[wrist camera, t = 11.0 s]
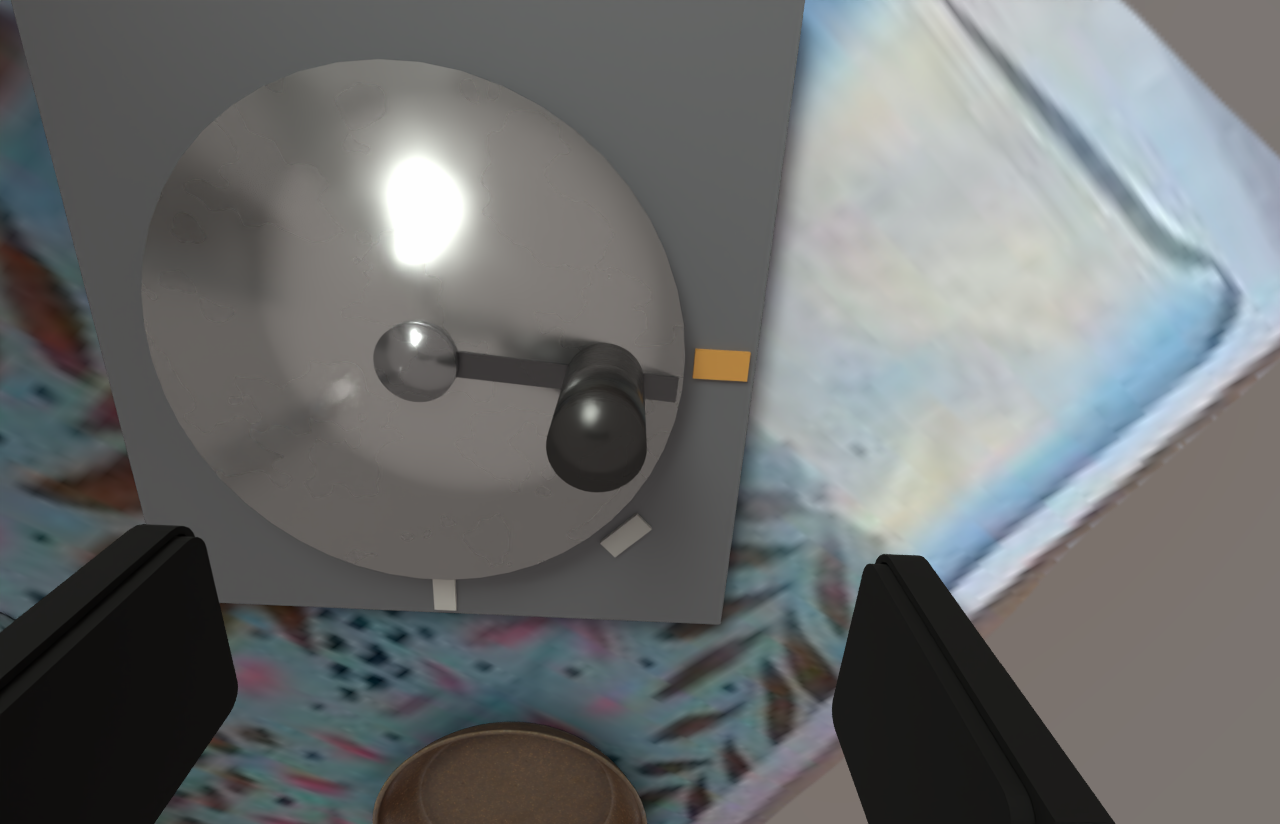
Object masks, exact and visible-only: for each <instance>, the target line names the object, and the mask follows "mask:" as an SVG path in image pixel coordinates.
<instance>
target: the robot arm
mask: <svg viewBox="0 0 1280 824" xmlns="http://www.w3.org/2000/svg"><path fill="white" fill-rule="evenodd" d="M237 692H238V683H237V678H236V673H235V669H234V665H233V660H232V656H231V652H230V647H229V643H228V639H227V634H226V630H225V626H224V621H223V617H222V613H221V608H220V604H219V600H218V595H217V591H216V587H215V582H214V578H213V574H212V569H211V565H210V561H209V556H208V552H207V547H206V545H205V542H204V541H203V540H202V539H201V538H199V537H195V535H194V533H193V531H192V530H191V529H190V528H188V527H185V526H175V525H150V524H142V525H137V526H135V527H133V528H131V529H130V530H129V531H127V532H126V533H125V534H124V535H122V536H121V537H120V538H118V539H117V540H116V541H115V542H113V543H112V544H111V545H110V546H108V547H107V548H106V549H105V550H103V551H102V552H101V553H100V554H98V555H97V556H96V557H95V558H93V559H92V560H91V561H89V562H88V563H87V564H86V565H84V566H83V567H82V568H81V569H79V570H78V571H77V572H76V573H74V574H73V575H72V576H71V577H69V578H68V579H67V580H66V581H64V582H63V583H62V584H60V585H59V586H58V587H57V588H55V589H54V590H53V591H52V592H50V593H49V594H48V595H47V596H45V597H44V598H43V599H42V600H40V601H39V602H38V603H37V604H35V605H34V606H33V607H31V608H30V609H29V610H28V611H26V612H25V613H24V614H23V615H21V616H20V617H19V618H18V619H16V620H15V621H14V622H13V623H11V624H10V625H9V626H8V627H6V628H5V629H4V630H3V631H1V632H0V824H154V823H155V822H156V820H157V819H158V817H159V816H160V814H161V813H162V811H163V810H164V808H165V807H166V805H167V804H168V803H169V801H170V800H171V798H172V797H173V795H174V794H175V792H176V791H177V789H178V788H179V786H180V785H181V784H182V782H183V781H184V779H185V778H186V776H187V775H188V773H189V772H190V770H191V769H192V768H193V766H194V765H195V763H196V762H197V760H198V759H199V757H200V756H201V754H202V753H203V751H204V750H205V749H206V747H207V746H208V744H209V743H210V741H211V740H212V738H213V737H214V735H215V734H216V732H217V731H218V730H219V728H220V727H221V725H222V724H223V722H224V721H225V719H226V718H227V716H228V715H229V714H230V712H231V710H232V708H233V706H234V704H235V701H236V697H237ZM832 717H833V723H834V727H835V731H836V734H837V736H838V739H839V742H840V745H841V748H842V750H843V753H844V756H845V759H846V762H847V765H848V767H849V770H850V773H851V776H852V779H853V781H854V784H855V787H856V790H857V793H858V796H859V798H860V801H861V804H862V807H863V809H864V812H865V815H866V818H867V821H868V824H1115V822H1114V821H1113V820H1112V818H1111V817H1110V816H1109V814H1108V813H1107V811H1106V810H1105V808H1104V807H1103V806H1102V804H1101V803H1100V801H1099V800H1098V799H1097V797H1096V796H1095V794H1094V793H1093V792H1092V790H1091V789H1090V787H1089V786H1088V785H1087V783H1086V782H1085V781H1084V779H1083V778H1082V776H1081V775H1080V773H1079V772H1078V771H1077V769H1076V768H1075V767H1074V765H1073V764H1072V762H1071V761H1070V759H1069V758H1068V757H1067V755H1066V754H1065V752H1064V751H1063V750H1062V749H1061V747H1060V745H1059V744H1058V743H1057V741H1056V740H1055V738H1054V737H1053V736H1052V734H1051V733H1050V731H1049V730H1048V729H1047V727H1046V726H1045V724H1044V723H1043V722H1042V720H1041V719H1040V717H1039V716H1038V715H1037V713H1036V712H1035V711H1034V709H1033V708H1032V707H1031V705H1030V704H1029V702H1028V701H1027V699H1026V698H1025V696H1024V695H1023V694H1022V692H1021V691H1020V690H1019V688H1018V687H1017V685H1016V684H1015V682H1014V681H1013V680H1012V678H1011V677H1010V675H1009V674H1008V673H1007V671H1006V670H1005V668H1004V667H1003V666H1002V664H1001V663H1000V662H999V660H998V659H997V658H996V656H995V655H994V653H993V652H992V651H991V649H990V648H989V647H988V645H987V644H986V642H985V641H984V639H983V638H982V637H981V635H980V634H979V632H978V631H977V630H976V628H975V627H974V625H973V624H972V623H971V621H970V620H969V618H968V617H967V616H966V614H965V613H964V611H963V610H962V609H961V607H960V606H959V604H958V603H957V602H956V600H955V599H954V597H953V596H952V595H951V593H950V592H949V590H948V589H947V588H946V586H945V585H944V583H943V582H942V581H941V579H940V578H939V576H938V575H937V574H936V572H935V571H934V569H933V568H932V567H931V565H930V564H929V562H928V561H927V560H926V559H925V558H924V557H922V556H917V555H892V554H882V555H880V556H879V557H878V558H877V560H876V563H875V564H867V565H866V567H865V568H864V571H863V574H862V579H861V583H860V587H859V591H858V596H857V600H856V604H855V608H854V613H853V617H852V621H851V625H850V630H849V634H848V638H847V642H846V647H845V651H844V655H843V659H842V663H841V668H840V672H839V676H838V680H837V685H836V689H835V693H834V697H833V703H832Z"/></svg>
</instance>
